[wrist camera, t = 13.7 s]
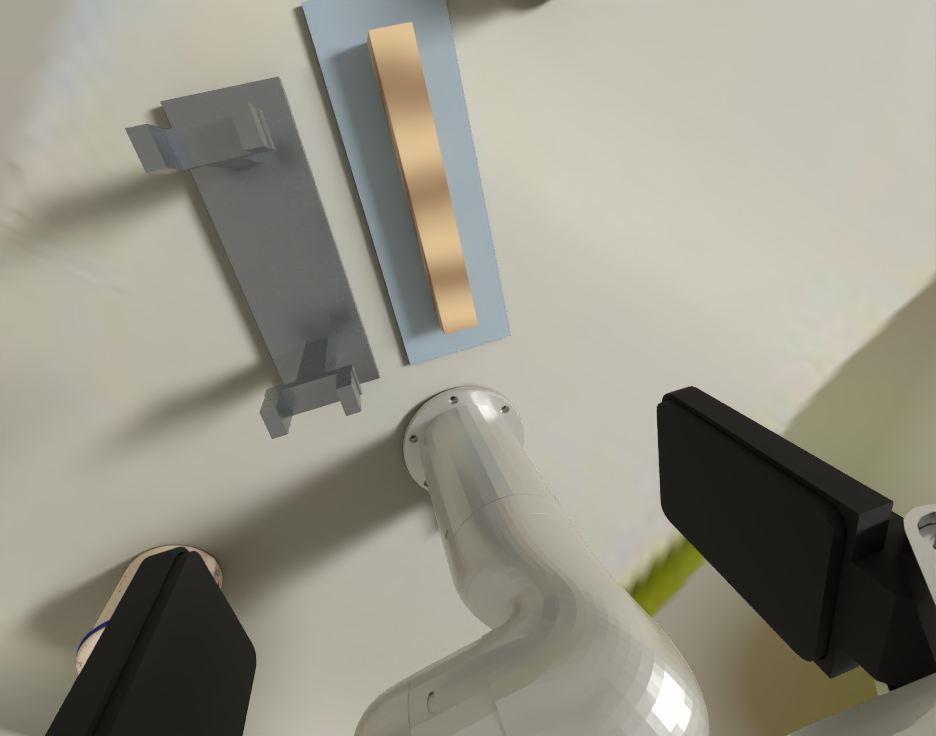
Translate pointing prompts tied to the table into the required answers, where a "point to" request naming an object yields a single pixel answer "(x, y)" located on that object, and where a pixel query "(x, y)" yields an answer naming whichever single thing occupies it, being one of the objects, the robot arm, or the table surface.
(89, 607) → the table surface
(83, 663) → the teacup with lid
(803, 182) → the table surface
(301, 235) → the stand
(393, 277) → the slate mat
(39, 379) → the table surface
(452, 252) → the oak rail
